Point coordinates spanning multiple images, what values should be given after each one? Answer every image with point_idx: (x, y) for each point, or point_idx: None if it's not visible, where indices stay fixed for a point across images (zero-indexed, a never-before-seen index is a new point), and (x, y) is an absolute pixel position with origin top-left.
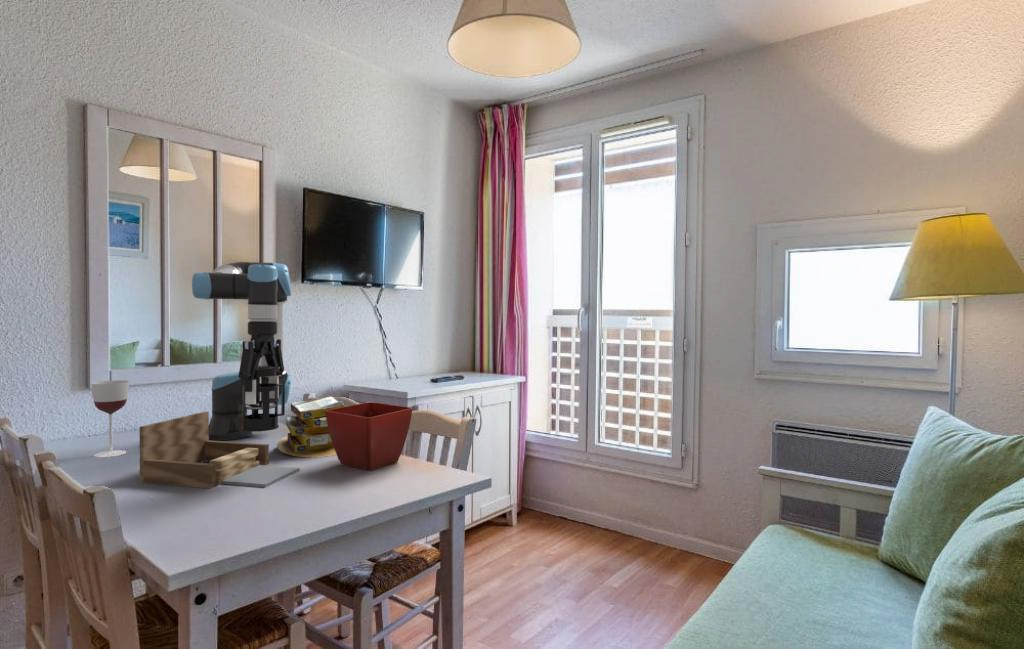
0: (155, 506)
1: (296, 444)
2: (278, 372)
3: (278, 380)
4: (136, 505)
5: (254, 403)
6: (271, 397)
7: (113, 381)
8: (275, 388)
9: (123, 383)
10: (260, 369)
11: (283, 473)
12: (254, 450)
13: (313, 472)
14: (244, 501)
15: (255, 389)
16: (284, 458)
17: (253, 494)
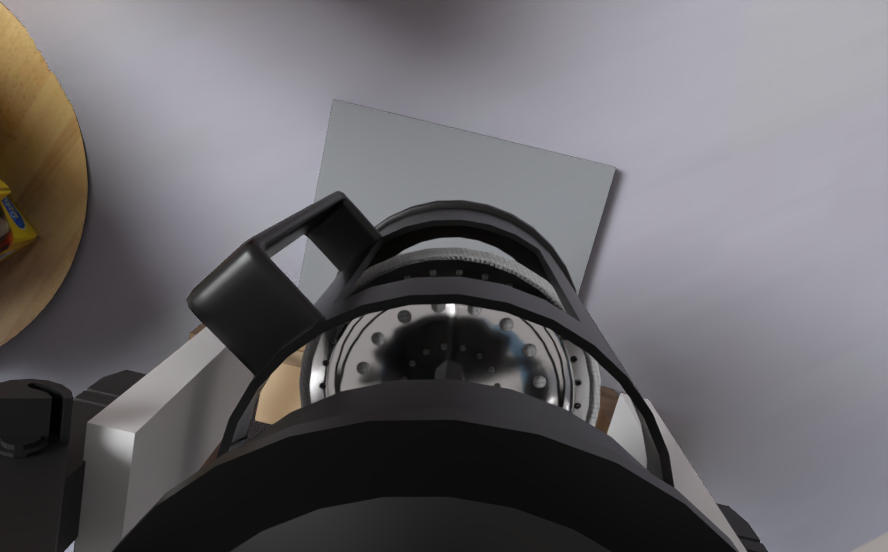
0: (821, 483)
1: (11, 233)
2: (38, 461)
3: (136, 388)
4: (800, 549)
5: (645, 401)
6: (250, 378)
7: None
8: (483, 286)
9: None
10: None
11: (438, 147)
12: (298, 365)
13: (364, 13)
14: (806, 177)
15: (678, 478)
16: (119, 262)
17: (712, 177)
